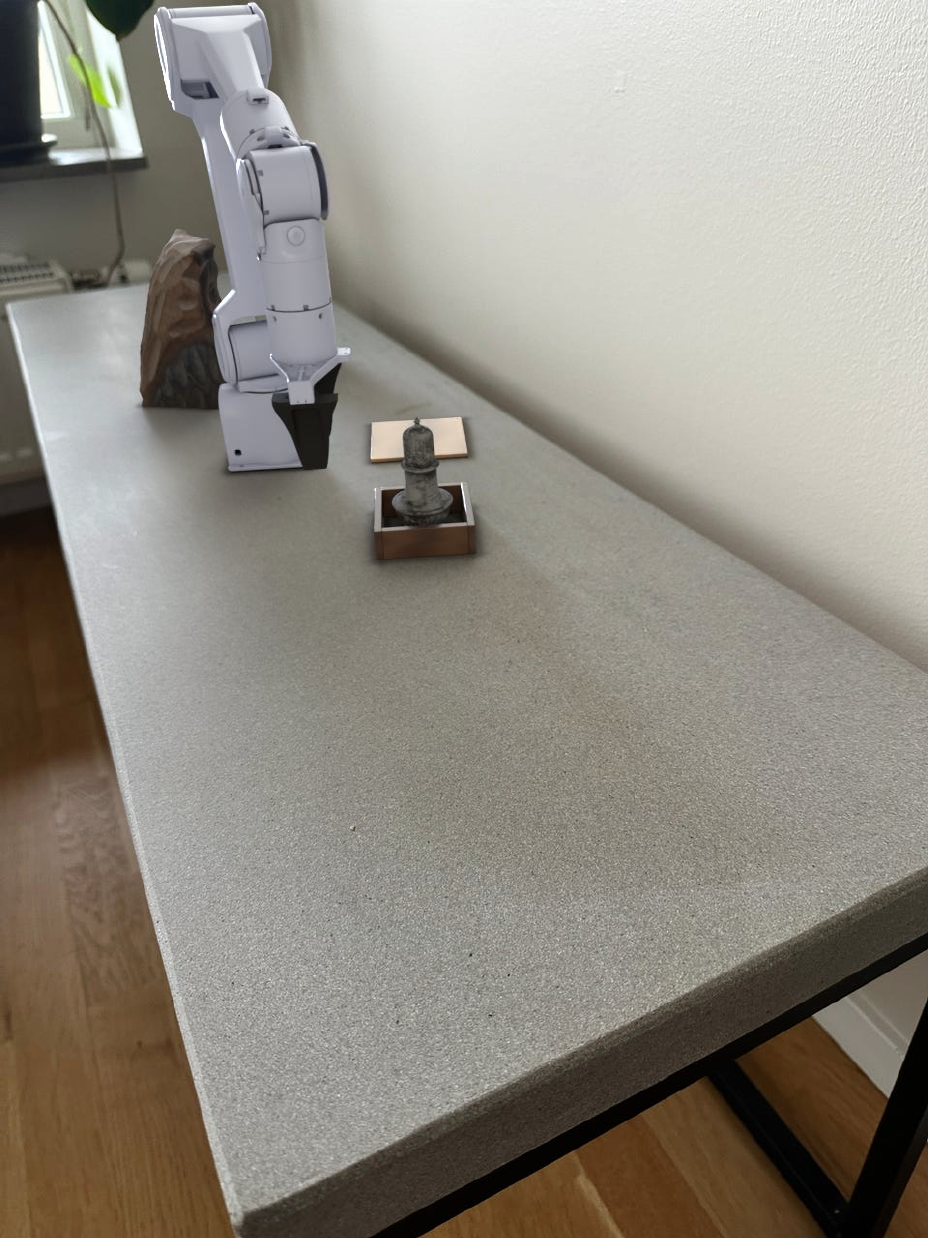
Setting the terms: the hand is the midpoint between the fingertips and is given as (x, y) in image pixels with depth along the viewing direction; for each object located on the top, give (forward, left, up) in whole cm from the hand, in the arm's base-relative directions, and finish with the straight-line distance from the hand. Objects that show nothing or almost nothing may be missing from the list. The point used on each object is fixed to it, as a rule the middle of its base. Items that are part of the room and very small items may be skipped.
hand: (317, 450), depth 89 cm
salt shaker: (+9, 0, -9) cm, 13 cm away
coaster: (+9, +23, -9) cm, 26 cm away
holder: (+9, 0, -9) cm, 13 cm away
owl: (-21, +43, -9) cm, 48 cm away
